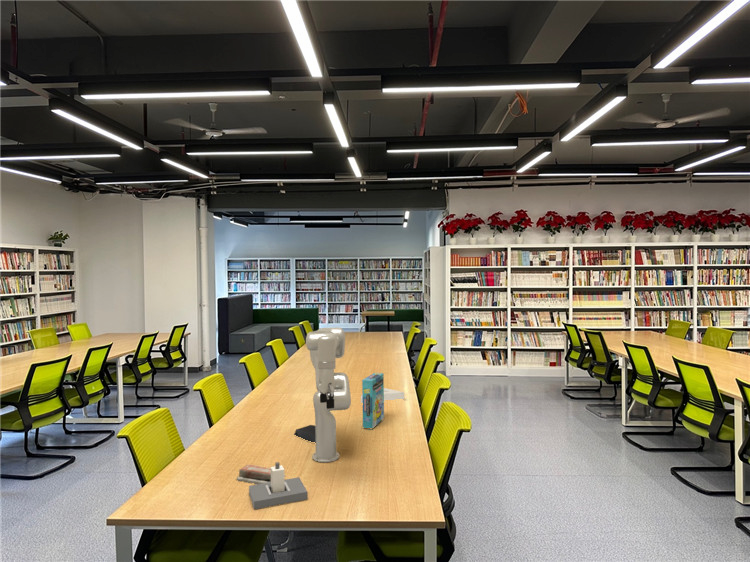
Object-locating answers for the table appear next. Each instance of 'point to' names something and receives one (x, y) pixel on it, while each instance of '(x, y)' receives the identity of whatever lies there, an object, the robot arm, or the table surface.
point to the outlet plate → (277, 494)
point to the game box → (373, 399)
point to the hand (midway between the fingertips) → (327, 405)
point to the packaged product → (255, 474)
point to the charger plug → (277, 478)
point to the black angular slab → (306, 433)
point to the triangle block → (391, 395)
